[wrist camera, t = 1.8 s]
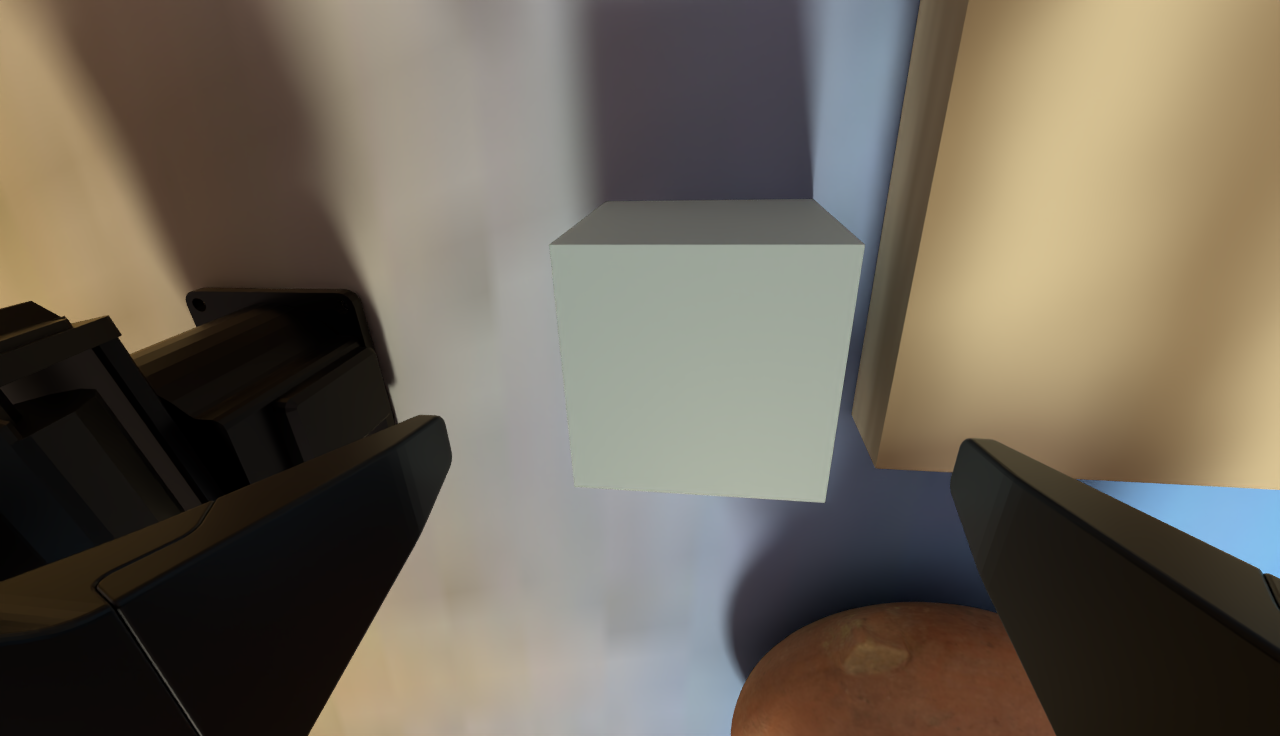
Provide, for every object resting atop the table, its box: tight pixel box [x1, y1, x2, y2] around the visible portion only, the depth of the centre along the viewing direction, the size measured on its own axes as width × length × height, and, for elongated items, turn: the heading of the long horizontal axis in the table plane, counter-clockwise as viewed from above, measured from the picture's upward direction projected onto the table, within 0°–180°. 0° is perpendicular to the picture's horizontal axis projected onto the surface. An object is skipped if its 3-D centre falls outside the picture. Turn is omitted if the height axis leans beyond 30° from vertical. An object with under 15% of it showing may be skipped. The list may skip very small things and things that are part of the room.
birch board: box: [851, 0, 1280, 490], centre depth 13 cm, size 12×12×3 cm
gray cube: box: [549, 199, 865, 503], centre depth 14 cm, size 6×6×6 cm
